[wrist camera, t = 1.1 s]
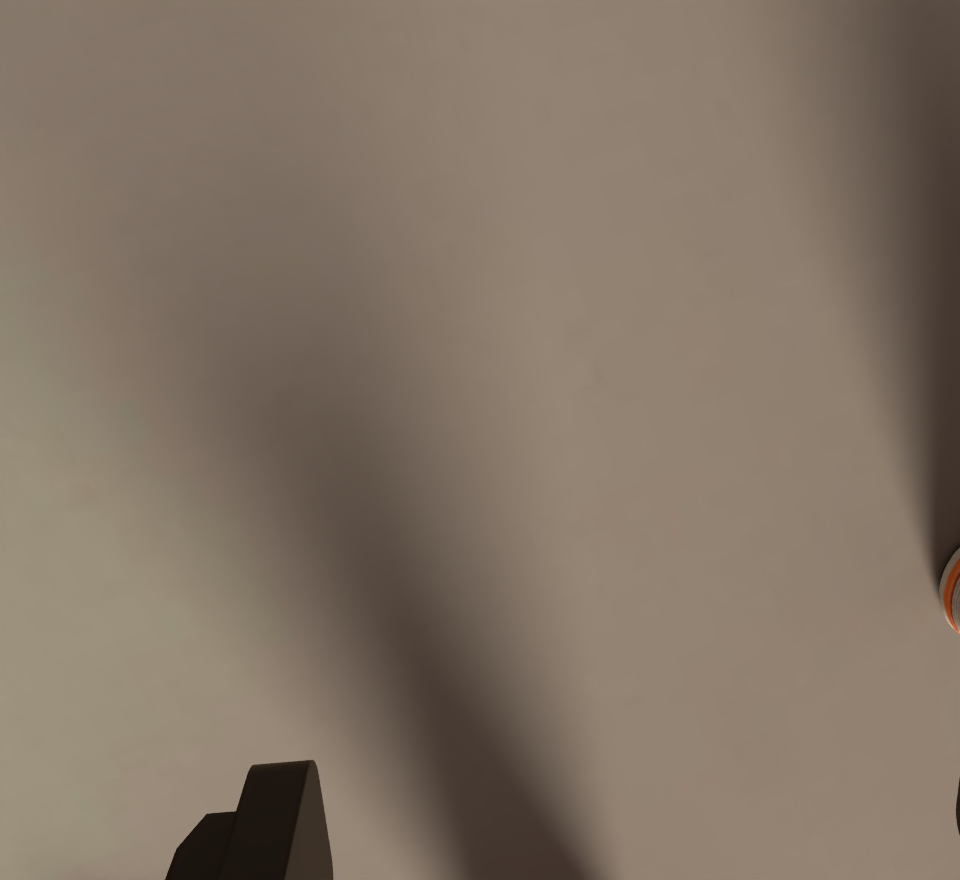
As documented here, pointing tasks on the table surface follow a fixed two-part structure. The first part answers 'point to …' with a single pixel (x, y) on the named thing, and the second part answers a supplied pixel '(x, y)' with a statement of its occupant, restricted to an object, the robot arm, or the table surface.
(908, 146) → the table surface
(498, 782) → the table surface
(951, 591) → the pill bottle
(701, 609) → the table surface
